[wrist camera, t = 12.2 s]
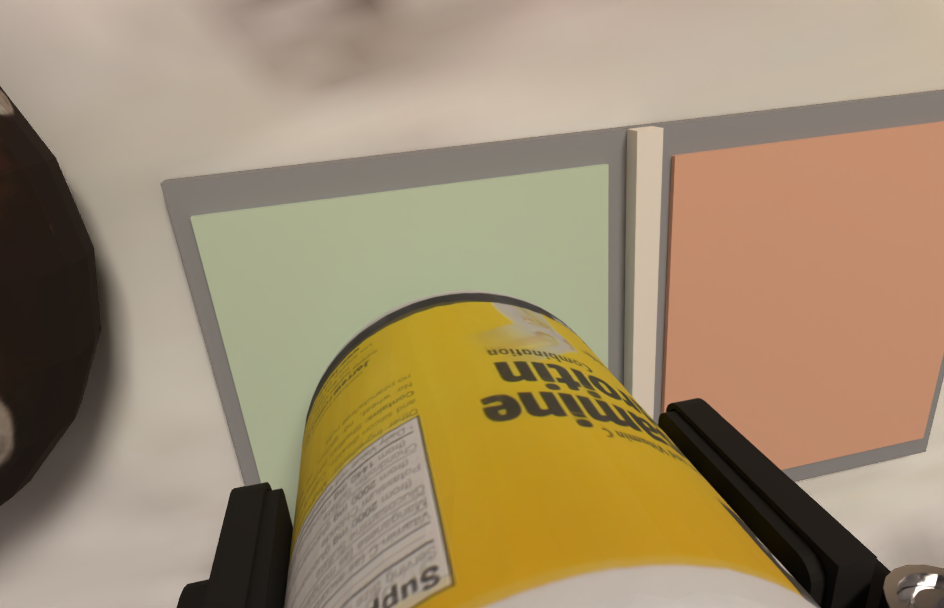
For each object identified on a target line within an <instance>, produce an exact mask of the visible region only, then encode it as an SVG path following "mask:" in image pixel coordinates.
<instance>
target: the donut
mask: <svg viewBox="0 0 944 608" xmlns="http://www.w3.org/2000/svg"><path fill="white" fill-rule="evenodd" d="M100 331H101V325H100V314H99V303H98V291H97V280H96V269H95V258H94V247H93V245H92V243H91V240H90V238H89V235H88V233H87V231H86V228H85V226H84V224H83V221H82V219H81V216H80V214H79V212H78V209H77V207H76V205H75V202H74V200H73V198H72V195H71V193H70V190H69V188H68V186H67V183H66V181H65V179H64V176H63V174H62V171H61V169H60V167H59V164H58V162H57V160H56V158H55V156H54V155H53V154H52V152H51V151H50V150H49V149H48V147H47V146H46V145H45V143H44V142H43V141H42V140H41V138H40V137H39V136H38V134H37V133H36V132H35V131H34V129H33V128H32V127H31V125H30V124H29V123H28V121H27V120H26V119H25V118H24V116H23V115H22V114H21V112H20V111H19V110H18V109H17V107H16V106H15V105H14V103H13V102H12V101H11V100H10V98H9V97H8V96H7V94H6V93H5V92H4V91H3V89H2V88H1V87H0V506H1V505H2V504H3V503H5V502H6V501H8V500H9V499H10V498H12V497H13V496H14V495H15V494H16V493H17V492H18V491H19V490H20V489H22V488H23V487H24V486H25V485H26V484H27V483H28V482H29V481H30V480H31V479H32V477H33V476H34V475H35V473H36V472H37V470H38V469H39V468H40V466H41V465H42V463H43V462H44V461H45V459H46V458H47V456H48V455H49V454H50V452H51V451H52V449H53V448H54V447H55V445H56V444H57V443H58V441H59V440H60V438H61V437H62V436H63V434H64V433H65V431H66V430H67V429H68V427H69V426H70V424H71V423H72V422H73V420H74V419H75V417H76V414H77V412H78V409H79V407H80V404H81V401H82V398H83V394H84V390H85V387H86V383H87V379H88V376H89V372H90V368H91V364H92V361H93V357H94V353H95V350H96V346H97V342H98V338H99V335H100Z"/></svg>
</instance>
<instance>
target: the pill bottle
mask: <svg viewBox="0 0 944 608" xmlns="http://www.w3.org/2000/svg"><path fill="white" fill-rule="evenodd" d="M284 608H821V607H820V606H819V605H818V604H817V603H816V601H815V600H814V599H813V598H812V597H811V596H810V595H809V594H808V592H807V591H806V590H805V589H804V588H803V587H802V586H801V585H800V584H799V583H798V582H797V581H796V580H795V578H794V577H793V576H792V575H791V574H790V573H789V572H788V571H787V570H786V568H785V567H784V566H783V565H782V564H781V563H780V562H779V561H778V560H777V558H776V557H775V556H774V555H773V554H772V553H771V552H770V551H769V550H768V549H767V548H766V547H765V546H764V544H763V543H762V542H761V541H760V540H759V539H758V538H757V537H756V535H755V534H754V533H753V532H752V531H751V530H750V529H749V527H748V526H747V525H746V524H745V523H744V522H743V521H742V520H741V518H740V517H739V516H738V515H737V514H736V513H735V512H734V511H733V509H732V508H731V507H730V506H729V505H728V504H727V503H726V502H725V501H724V499H723V498H722V497H721V496H720V495H719V494H718V493H717V492H716V490H715V489H714V488H713V487H712V486H711V485H710V484H709V483H708V482H707V480H706V479H705V478H704V477H703V476H702V475H701V474H700V473H699V471H698V470H697V469H696V468H695V467H694V466H693V465H692V464H691V463H690V461H689V460H688V459H687V458H686V457H685V456H684V455H683V454H682V452H681V451H680V450H679V449H678V447H677V446H676V445H675V444H674V443H673V442H672V441H671V440H670V438H669V437H668V436H667V435H666V434H665V433H664V432H663V431H662V429H661V428H660V427H659V426H658V425H657V424H656V423H655V422H654V420H653V419H652V418H651V417H650V416H649V415H648V414H647V413H646V411H645V410H644V409H643V408H642V407H641V406H640V405H639V404H638V403H637V401H636V400H635V399H634V398H633V397H632V396H631V395H630V393H629V392H628V391H627V390H626V389H625V388H624V386H623V385H622V384H621V383H620V382H619V381H618V380H617V378H616V377H615V376H614V375H613V374H612V373H611V372H610V371H609V369H608V368H607V367H606V366H605V365H604V364H603V363H602V362H601V360H600V359H599V358H598V357H597V356H596V355H595V354H594V352H593V351H592V350H591V349H590V348H589V347H588V345H587V344H586V343H585V342H584V341H583V340H582V339H581V338H580V337H579V336H578V335H577V334H576V333H575V332H574V331H573V330H572V329H571V328H570V327H569V326H567V325H566V324H565V323H564V322H563V321H561V320H560V319H558V318H557V317H556V316H554V315H553V314H551V313H550V312H548V311H547V310H545V309H543V308H541V307H539V306H537V305H535V304H533V303H531V302H528V301H526V300H523V299H520V298H517V297H514V296H511V295H507V294H502V293H497V292H490V291H479V290H459V291H448V292H442V293H437V294H432V295H428V296H425V297H421V298H418V299H414V300H411V301H409V302H406V303H404V304H401V305H399V306H397V307H395V308H393V309H391V310H389V311H387V312H386V313H384V314H382V315H381V316H379V317H377V318H376V319H374V320H373V321H371V322H370V323H369V324H367V325H366V326H365V327H363V328H362V329H361V330H360V331H358V332H357V333H356V334H355V335H354V336H353V337H352V338H351V339H350V340H349V341H348V342H347V343H346V344H345V345H344V346H343V347H342V348H341V349H340V350H339V352H338V353H337V354H336V355H335V357H334V358H333V360H332V361H331V362H330V364H329V365H328V367H327V368H326V370H325V372H324V373H323V375H322V377H321V379H320V381H319V383H318V385H317V387H316V389H315V391H314V394H313V397H312V400H311V403H310V406H309V410H308V413H307V417H306V424H305V430H304V436H303V442H302V453H301V463H300V472H299V482H298V491H297V500H296V508H295V516H294V525H293V533H292V542H291V551H290V560H289V569H288V578H287V587H286V596H285V605H284Z"/></svg>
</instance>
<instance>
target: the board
mask: <svg viewBox="0 0 944 608" xmlns="http://www.w3.org/2000/svg"><path fill="white" fill-rule="evenodd" d="M161 186H162V190H163V193H164V197H165V201H166V204H167V208H168V211H169V215H170V218H171V222H172V226H173V229H174V233H175V236H176V240H177V243H178V247H179V251H180V254H181V258H182V261H183V265H184V268H185V272H186V276H187V279H188V283H189V286H190V290H191V293H192V297H193V301H194V304H195V308H196V311H197V315H198V318H199V322H200V326H201V329H202V333H203V336H204V340H205V343H206V347H207V351H208V354H209V358H210V361H211V365H212V368H213V372H214V376H215V379H216V383H217V386H218V390H219V393H220V397H221V401H222V404H223V408H224V411H225V415H226V418H227V422H228V426H229V429H230V433H231V436H232V440H233V443H234V447H235V451H236V454H237V458H238V461H239V465H240V468H241V472H242V476H243V479H244V483H245V486H249V485H254V484H259V483H264V482H268V483H269V484H270V486H271V488H272V490H275V489H280V488H282V489H283V491H284V494H285V497H286V501H287V505H288V509H289V513H290V517H291V521H292V525H294V516H295V508H296V500H297V491H298V482H299V472H300V463H301V453H302V442H303V436H304V430H305V424H306V417H307V413H308V410H309V406H310V403H311V400H312V397H313V394H314V391H315V389H316V387H317V385H318V383H319V381H320V379H321V377H322V375H323V373H324V372H325V370H326V368H327V367H328V365H329V364H330V362H331V361H332V360H333V358H334V357H335V355H336V354H337V353H338V352H339V350H340V349H341V348H342V347H343V346H344V345H345V344H346V343H347V342H348V341H349V340H350V339H351V338H352V337H353V336H354V335H355V334H356V333H357V332H358V331H360V330H361V329H362V328H363V327H365V326H366V325H367V324H369V323H370V322H371V321H373V320H374V319H376V318H377V317H379V316H381V315H382V314H384V313H386V312H387V311H389V310H391V309H393V308H395V307H397V306H399V305H401V304H404V303H406V302H409V301H411V300H414V299H418V298H421V297H425V296H428V295H432V294H437V293H442V292H448V291H459V290H479V291H490V292H497V293H502V294H507V295H511V296H514V297H517V298H520V299H523V300H526V301H528V302H531V303H533V304H535V305H537V306H539V307H541V308H543V309H545V310H547V311H548V312H550V313H551V314H553V315H554V316H556V317H557V318H558V319H560V320H561V321H563V322H564V323H565V324H566V325H567V326H569V327H570V328H571V329H572V330H573V331H574V332H575V333H576V334H577V335H578V336H579V337H580V338H581V339H582V340H583V341H584V342H585V343H586V344H587V345H588V347H589V348H590V349H591V350H592V351H593V352H594V354H595V355H596V356H597V357H598V358H599V359H600V360H601V362H602V363H603V364H604V365H605V366H606V367H607V368H608V369H609V371H610V372H611V373H612V374H613V375H614V376H615V377H616V378H617V380H618V381H619V382H620V383H621V384H622V385H623V386H624V388H625V389H626V390H627V391H628V392H629V393H630V395H631V396H632V397H633V398H634V399H635V400H636V401H637V403H638V404H639V405H640V406H641V407H642V408H643V409H644V410H645V411H646V413H647V414H648V415H649V416H650V417H651V418H652V419H653V420H654V422H655V423H656V424H657V425H658V420H659V416H660V414H662V413H665V412H666V408H667V406H668V405H669V404H670V403H674V402H680V401H685V400H690V399H695V398H701V399H703V400H704V401H706V402H707V403H708V404H709V405H710V406H711V407H712V408H713V409H714V410H715V411H717V412H718V413H719V414H720V415H721V416H722V417H723V418H724V419H725V420H726V421H728V422H729V423H730V424H731V425H732V426H733V427H734V428H735V429H736V430H738V431H739V432H740V433H741V434H742V435H743V436H744V437H745V438H746V439H747V440H749V441H750V442H751V443H752V444H753V445H754V446H755V447H756V448H757V449H758V450H760V451H761V452H762V453H763V454H764V455H765V456H766V457H767V458H768V459H769V460H771V461H772V462H773V463H774V464H775V465H776V466H777V467H778V468H779V469H780V470H782V471H783V472H784V473H785V474H786V475H787V476H788V477H789V478H790V479H792V480H793V481H794V482H795V481H799V480H804V479H808V478H812V477H817V476H821V475H825V474H830V473H834V472H839V471H843V470H847V469H852V468H856V467H860V466H865V465H869V464H873V463H878V462H882V461H886V460H891V459H895V458H899V457H904V456H908V455H913V454H917V453H921V452H926V448H927V444H928V439H929V435H930V431H931V427H932V423H933V419H934V415H935V411H936V406H937V402H938V398H939V394H940V390H941V386H942V382H943V378H944V90H936V91H927V92H919V93H910V94H902V95H893V96H884V97H876V98H867V99H859V100H850V101H841V102H833V103H824V104H815V105H807V106H798V107H790V108H781V109H772V110H764V111H755V112H747V113H738V114H729V115H721V116H712V117H703V118H695V119H686V120H678V121H669V122H660V123H652V124H643V125H634V126H626V127H617V128H609V129H600V130H591V131H583V132H574V133H566V134H557V135H548V136H540V137H531V138H522V139H514V140H505V141H497V142H488V143H479V144H471V145H462V146H454V147H445V148H436V149H428V150H419V151H410V152H402V153H393V154H385V155H376V156H367V157H359V158H350V159H341V160H333V161H324V162H316V163H307V164H298V165H290V166H281V167H273V168H264V169H255V170H247V171H238V172H229V173H221V174H212V175H204V176H195V177H186V178H178V179H169V180H165V181H163V182H162V183H161Z"/></svg>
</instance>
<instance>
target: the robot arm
mask: <svg viewBox="0 0 944 608" xmlns="http://www.w3.org/2000/svg"><path fill="white" fill-rule="evenodd" d="M658 426H659V427H660V428H661V429H662V431H663V432H664V433H665V434H666V435H667V436H668V437H669V438H670V440H671V441H672V442H673V443H674V444H675V445H676V446H677V447H678V449H679V450H680V451H681V452H682V454H683V455H684V456H685V457H686V458H687V459H688V460H689V461H690V463H691V464H692V465H693V466H694V467H695V468H696V469H697V470H698V471H699V473H700V474H701V475H702V476H703V477H704V478H705V479H706V480H707V482H708V483H709V484H710V485H711V486H712V487H713V488H714V489H715V490H716V492H717V493H718V494H719V495H720V496H721V497H722V498H723V499H724V501H725V502H726V503H727V504H728V505H729V506H730V507H731V508H732V509H733V511H734V512H735V513H736V514H737V515H738V516H739V517H740V518H741V520H742V521H743V522H744V523H745V524H746V525H747V526H748V527H749V529H750V530H751V531H752V532H753V533H754V534H755V535H756V537H757V538H758V539H759V540H760V541H761V542H762V543H763V544H764V546H765V547H766V548H767V549H768V550H769V551H770V552H771V553H772V554H773V555H774V556H775V557H776V558H777V560H778V561H779V562H780V563H781V564H782V565H783V566H784V567H785V568H786V570H787V571H788V572H789V573H790V574H791V575H792V576H793V577H794V578H795V580H796V581H797V582H798V583H799V584H800V585H801V586H802V587H803V588H804V589H805V590H806V591H807V592H808V594H809V595H810V596H811V597H812V598H813V599H814V600H815V601H816V603H817V604H818V605H819V606H820V607H821V608H944V568H939V567H934V566H929V565H905V566H902V567H899V568H896V569H894V570H892V571H889V570H888V569H887V568H886V567H885V566H884V565H883V564H882V563H881V562H880V561H878V560H877V557H876V556H875V555H874V554H873V553H872V552H871V551H870V550H869V549H868V548H866V547H865V546H864V545H863V544H862V543H861V542H860V541H859V540H858V539H857V538H855V537H854V536H853V535H852V534H851V533H850V532H849V531H848V530H847V529H845V528H844V527H843V526H842V525H841V524H840V523H839V522H838V521H837V520H836V519H834V518H833V517H832V516H831V515H830V514H829V513H828V512H827V511H826V510H825V509H823V508H822V507H821V506H820V505H819V504H818V503H817V502H816V501H815V500H814V499H812V498H811V497H810V496H809V495H808V494H807V493H806V492H805V491H804V490H803V489H801V488H800V487H799V486H798V485H797V484H796V483H795V482H794V481H793V480H792V479H790V478H789V477H788V476H787V475H786V474H785V473H784V472H783V471H782V470H780V469H779V468H778V467H777V466H776V465H775V464H774V463H773V462H772V461H771V460H769V459H768V458H767V457H766V456H765V455H764V454H763V453H762V452H761V451H760V450H758V449H757V448H756V447H755V446H754V445H753V444H752V443H751V442H750V441H749V440H747V439H746V438H745V437H744V436H743V435H742V434H741V433H740V432H739V431H738V430H736V429H735V428H734V427H733V426H732V425H731V424H730V423H729V422H728V421H726V420H725V419H724V418H723V417H722V416H721V415H720V414H719V413H718V412H717V411H715V410H714V409H713V408H712V407H711V406H710V405H709V404H708V403H707V402H706V401H704V400H703V399H701V398H695V399H690V400H685V401H680V402H674V403H670V404H669V405H668V406H667V408H666V412H665V413H662V414H660V416H659V420H658ZM292 533H293V525H292V521H291V517H290V513H289V509H288V505H287V501H286V497H285V494H284V491H283V489H282V488H280V489H275V490H272V488H271V486H270V484H269V483H268V482H264V483H259V484H254V485H249V486H244V487H239V488H234V489H233V490H232V491H231V493H230V497H229V501H228V505H227V509H226V513H225V517H224V521H223V525H222V529H221V533H220V538H219V542H218V546H217V550H216V554H215V558H214V562H213V566H212V570H211V574H210V578H209V580H204V581H200V582H195V583H190V584H187V585H186V586H185V587H184V589H183V591H182V593H181V596H180V598H179V602H178V605H177V608H284V605H285V596H286V587H287V578H288V569H289V560H290V551H291V542H292Z"/></svg>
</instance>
